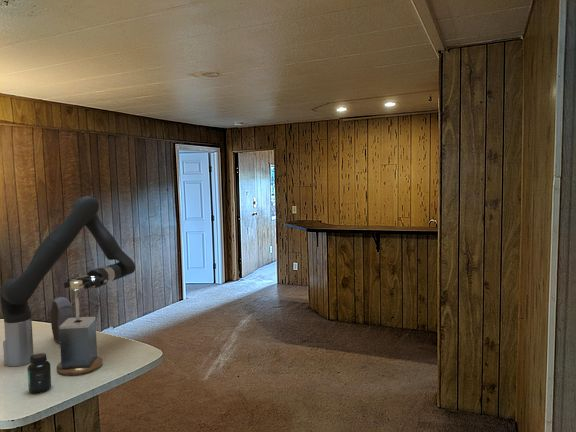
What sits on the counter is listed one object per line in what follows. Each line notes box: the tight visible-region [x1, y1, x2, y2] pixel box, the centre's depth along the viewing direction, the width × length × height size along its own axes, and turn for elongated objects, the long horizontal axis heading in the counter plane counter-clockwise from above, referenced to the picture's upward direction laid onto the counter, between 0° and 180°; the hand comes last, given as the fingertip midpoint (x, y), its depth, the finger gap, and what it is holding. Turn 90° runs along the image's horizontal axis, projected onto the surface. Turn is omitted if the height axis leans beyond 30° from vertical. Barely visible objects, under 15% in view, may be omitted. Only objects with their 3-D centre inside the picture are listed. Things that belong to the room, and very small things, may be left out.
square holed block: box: [56, 316, 104, 377], centre depth 169 cm, size 16×16×18 cm
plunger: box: [69, 280, 84, 322], centre depth 167 cm, size 7×7×22 cm
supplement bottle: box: [27, 352, 52, 395], centre depth 151 cm, size 7×7×12 cm
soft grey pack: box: [50, 296, 76, 343], centre depth 197 cm, size 15×8×20 cm, turn 42°
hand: (74, 285), depth 166 cm, fingers open, 8 cm apart
